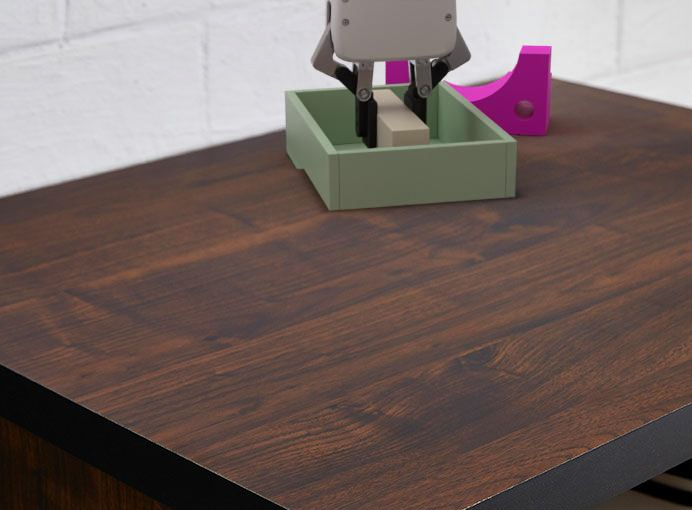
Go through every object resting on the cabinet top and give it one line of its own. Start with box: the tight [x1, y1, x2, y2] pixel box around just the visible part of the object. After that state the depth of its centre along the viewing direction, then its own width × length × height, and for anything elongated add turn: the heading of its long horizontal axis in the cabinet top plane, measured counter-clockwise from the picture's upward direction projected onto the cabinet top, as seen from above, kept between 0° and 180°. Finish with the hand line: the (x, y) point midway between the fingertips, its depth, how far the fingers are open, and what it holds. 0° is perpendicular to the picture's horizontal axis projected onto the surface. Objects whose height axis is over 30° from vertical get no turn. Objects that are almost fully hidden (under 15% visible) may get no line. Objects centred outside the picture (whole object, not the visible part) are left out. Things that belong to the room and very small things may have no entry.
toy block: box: [384, 44, 553, 137], centre depth 131 cm, size 15×6×8 cm, turn 78°
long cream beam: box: [372, 89, 430, 148], centre depth 114 cm, size 14×3×3 cm, turn 10°
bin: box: [284, 80, 518, 212], centre depth 115 cm, size 15×22×6 cm
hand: (390, 141), depth 115 cm, fingers closed on long cream beam, 3 cm apart
